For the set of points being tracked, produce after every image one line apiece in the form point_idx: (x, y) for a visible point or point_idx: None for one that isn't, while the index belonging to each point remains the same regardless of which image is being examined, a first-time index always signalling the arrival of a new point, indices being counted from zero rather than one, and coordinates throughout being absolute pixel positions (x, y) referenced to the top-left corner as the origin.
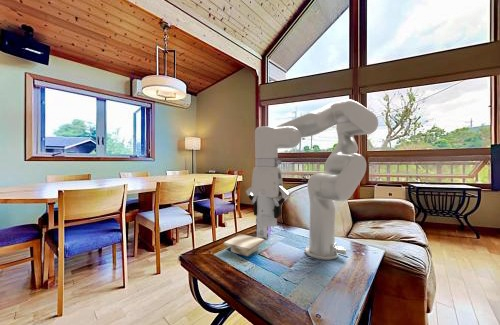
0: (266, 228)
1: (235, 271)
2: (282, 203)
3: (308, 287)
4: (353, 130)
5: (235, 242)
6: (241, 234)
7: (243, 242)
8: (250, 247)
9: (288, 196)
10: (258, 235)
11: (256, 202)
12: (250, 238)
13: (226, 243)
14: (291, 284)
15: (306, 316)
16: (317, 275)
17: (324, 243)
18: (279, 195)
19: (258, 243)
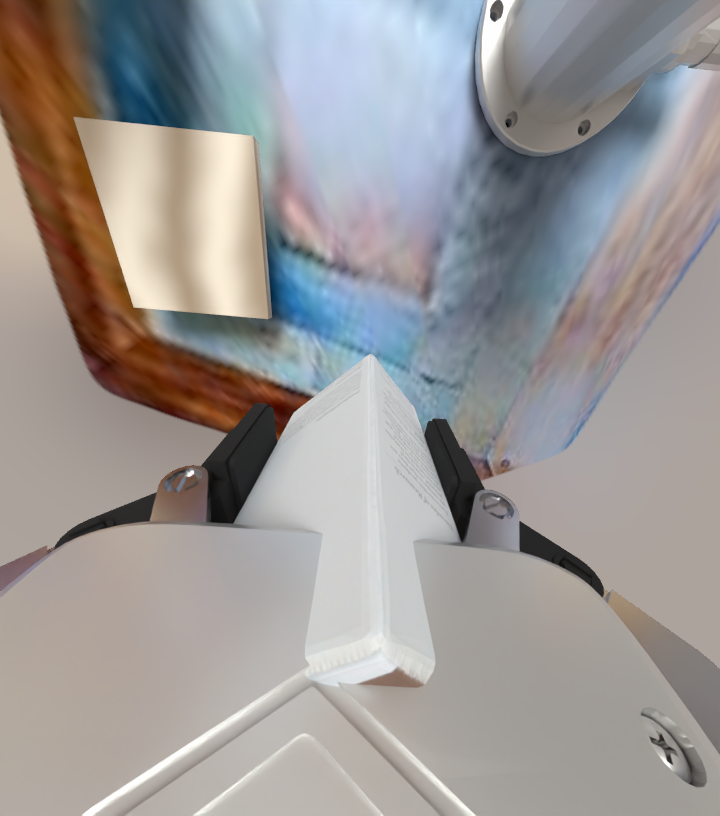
0: None
1: (292, 400)
2: (519, 525)
3: (489, 389)
4: None
5: (172, 282)
6: (86, 126)
7: (198, 261)
8: (262, 304)
9: (673, 653)
10: None
11: (230, 519)
12: (182, 176)
13: (150, 308)
14: (446, 394)
15: (485, 472)
16: (517, 315)
17: (638, 72)
18: (520, 564)
19: (261, 230)
